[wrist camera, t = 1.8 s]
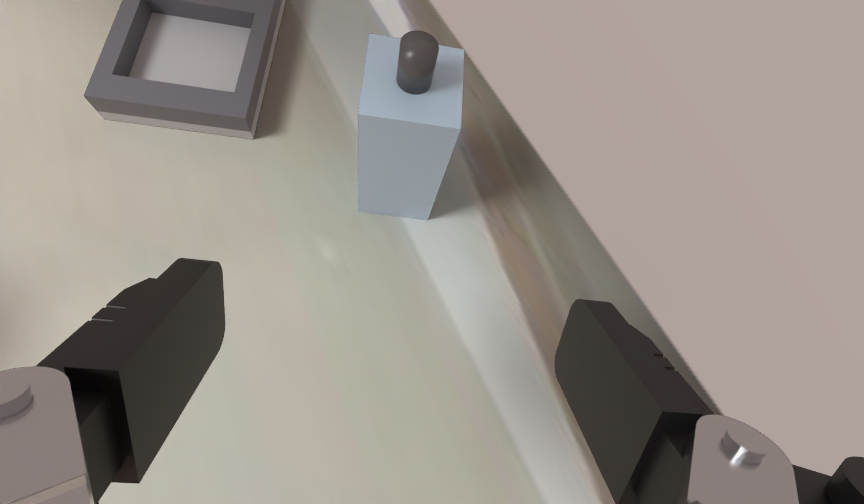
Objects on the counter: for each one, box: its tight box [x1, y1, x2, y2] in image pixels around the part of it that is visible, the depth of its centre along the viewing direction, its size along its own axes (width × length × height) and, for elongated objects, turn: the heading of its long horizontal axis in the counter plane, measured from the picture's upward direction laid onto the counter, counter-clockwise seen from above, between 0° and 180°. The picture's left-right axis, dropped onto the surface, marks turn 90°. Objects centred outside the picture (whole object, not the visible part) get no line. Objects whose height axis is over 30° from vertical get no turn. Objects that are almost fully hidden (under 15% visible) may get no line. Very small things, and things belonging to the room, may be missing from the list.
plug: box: [358, 31, 464, 220], centre depth 24 cm, size 4×4×12 cm
